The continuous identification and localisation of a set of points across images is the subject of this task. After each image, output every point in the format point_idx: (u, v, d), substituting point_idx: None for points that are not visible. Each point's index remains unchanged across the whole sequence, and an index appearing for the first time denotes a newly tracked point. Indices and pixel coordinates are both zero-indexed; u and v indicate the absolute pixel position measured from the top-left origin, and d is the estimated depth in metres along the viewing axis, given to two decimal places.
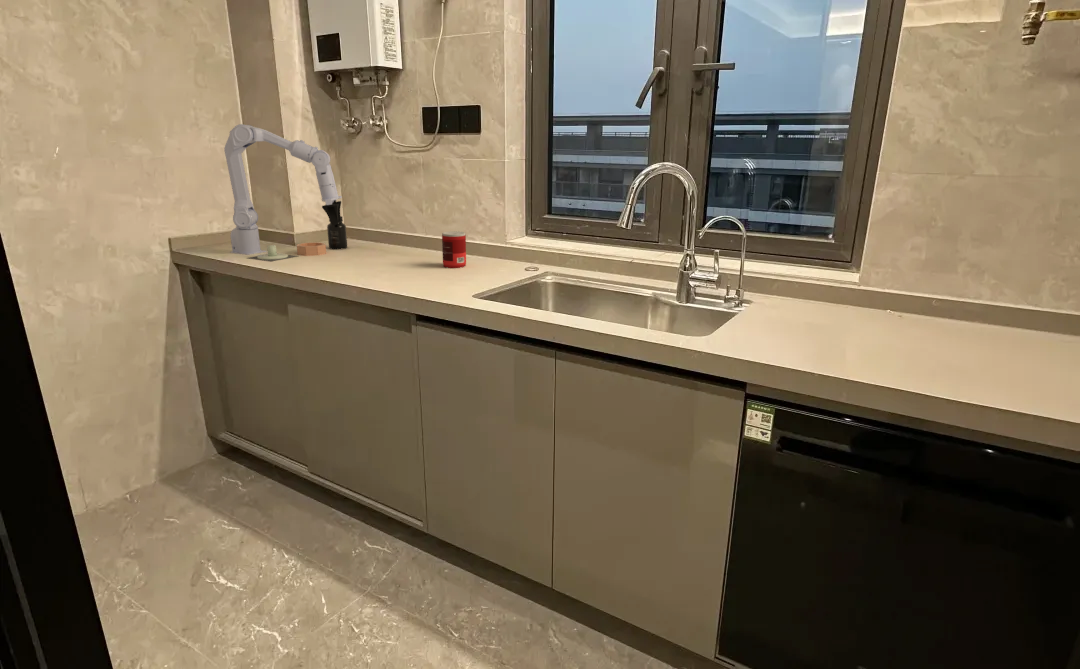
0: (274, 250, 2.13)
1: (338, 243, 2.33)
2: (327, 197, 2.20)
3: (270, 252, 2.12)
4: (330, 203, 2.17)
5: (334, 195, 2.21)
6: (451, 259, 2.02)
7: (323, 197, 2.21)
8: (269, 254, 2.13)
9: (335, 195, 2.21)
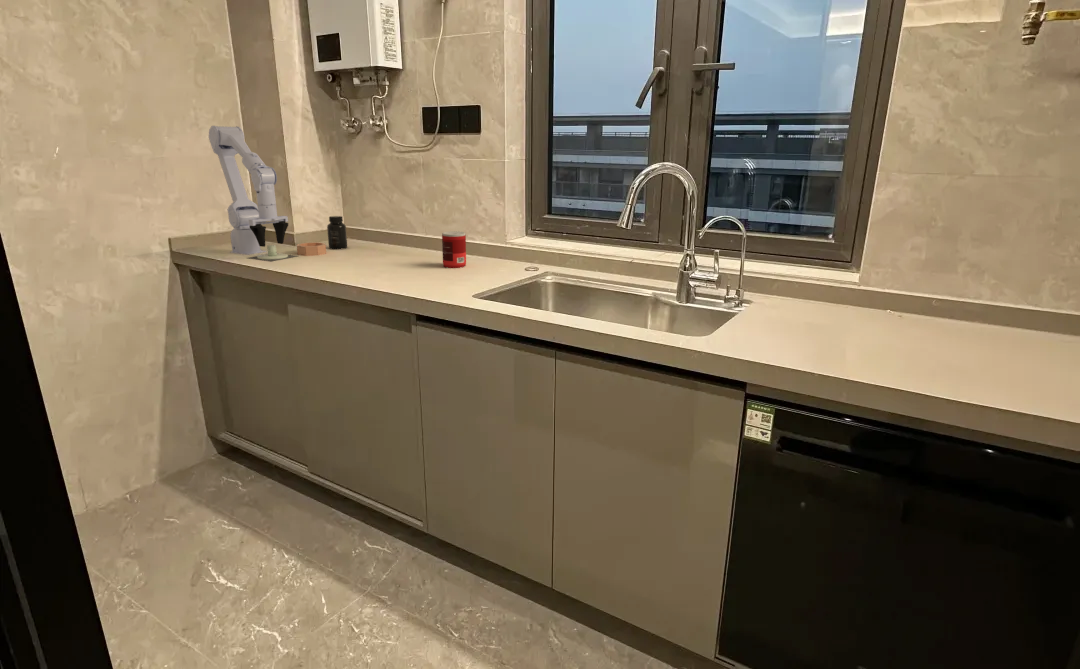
0: (274, 250, 2.13)
1: (338, 243, 2.33)
2: (260, 217, 2.08)
3: (270, 252, 2.12)
4: (252, 224, 2.04)
5: (266, 216, 2.07)
6: (451, 259, 2.02)
7: (259, 216, 2.09)
8: (269, 254, 2.13)
9: (268, 216, 2.08)
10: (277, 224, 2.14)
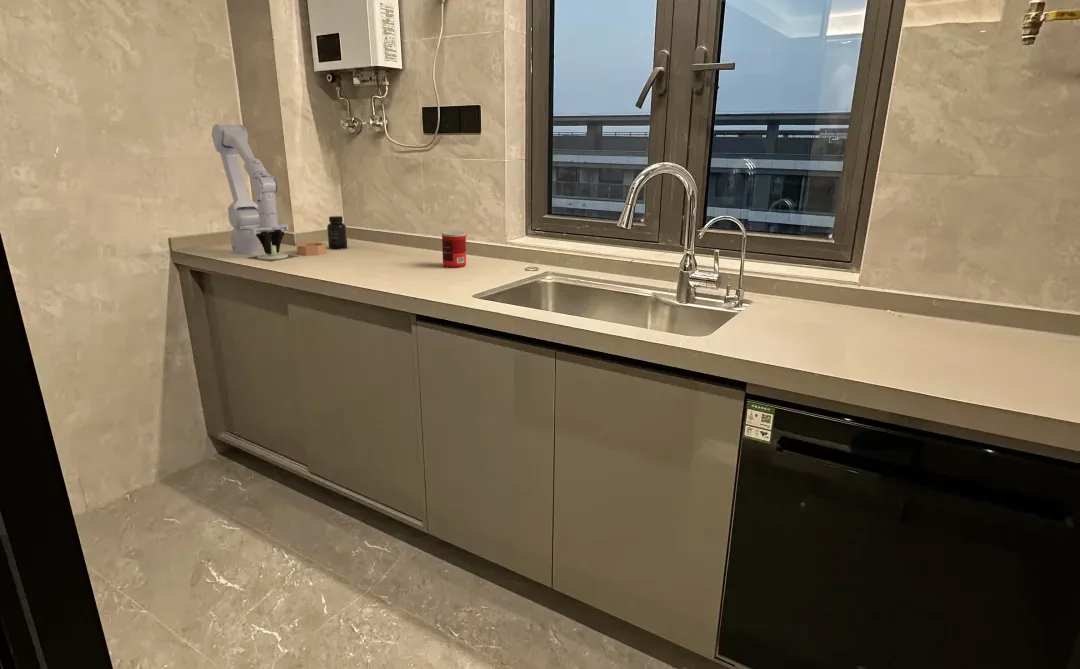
0: (274, 250, 2.13)
1: (338, 243, 2.33)
2: (261, 225, 2.09)
3: None
4: (253, 233, 2.05)
5: (267, 225, 2.08)
6: (451, 259, 2.02)
7: (260, 224, 2.10)
8: (269, 254, 2.13)
9: (269, 225, 2.09)
10: (273, 233, 2.13)
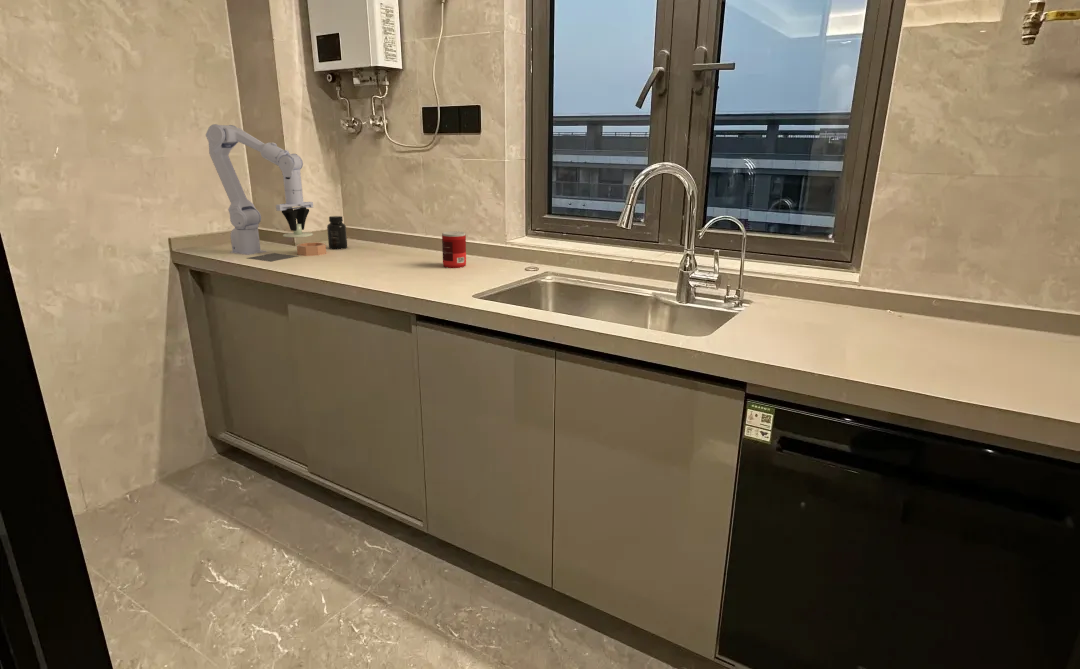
0: (300, 228, 2.17)
1: (338, 243, 2.33)
2: (287, 202, 2.13)
3: (296, 230, 2.16)
4: (279, 209, 2.09)
5: (293, 201, 2.12)
6: (451, 259, 2.02)
7: None
8: (295, 232, 2.17)
9: (294, 202, 2.12)
10: (298, 210, 2.17)
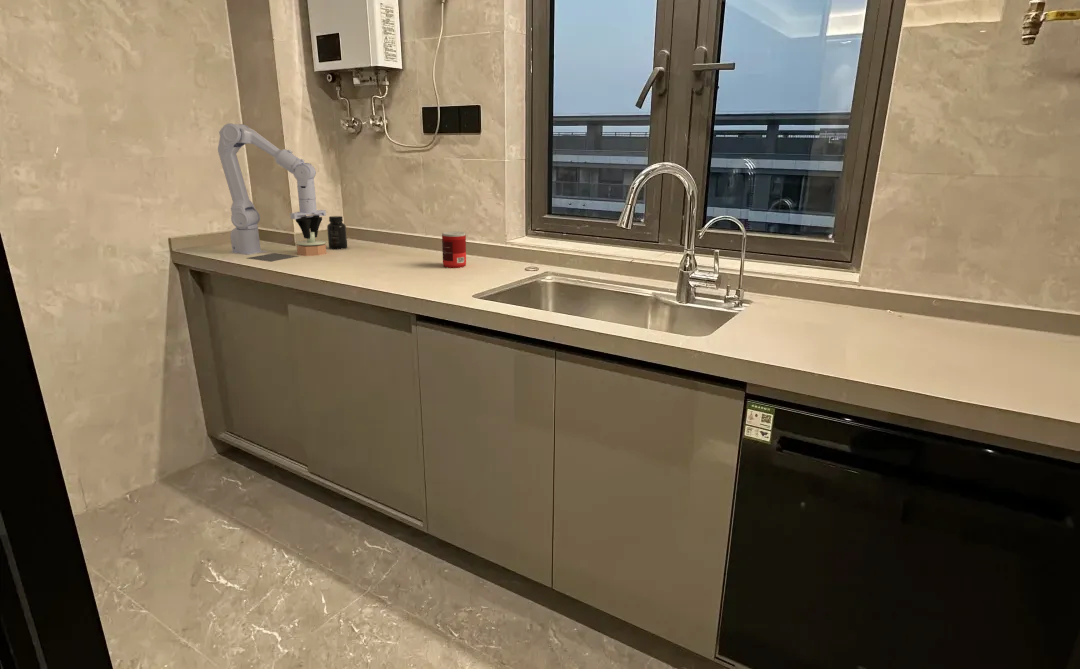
0: (313, 236, 2.21)
1: (338, 243, 2.33)
2: (301, 211, 2.17)
3: (310, 238, 2.20)
4: (293, 218, 2.13)
5: (307, 210, 2.16)
6: (451, 259, 2.02)
7: None
8: (308, 240, 2.21)
9: (308, 210, 2.16)
10: (311, 218, 2.21)
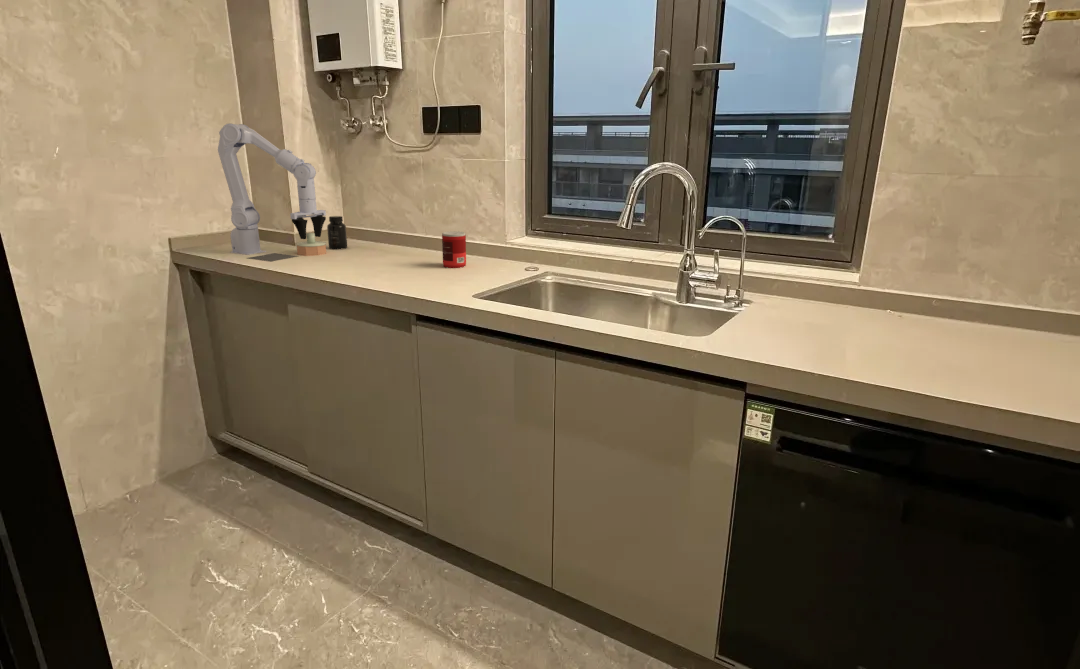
0: (313, 237, 2.21)
1: (338, 243, 2.33)
2: (301, 211, 2.17)
3: (310, 239, 2.21)
4: (293, 218, 2.13)
5: (307, 210, 2.16)
6: (451, 259, 2.02)
7: None
8: (308, 241, 2.21)
9: (308, 210, 2.16)
10: (315, 218, 2.23)
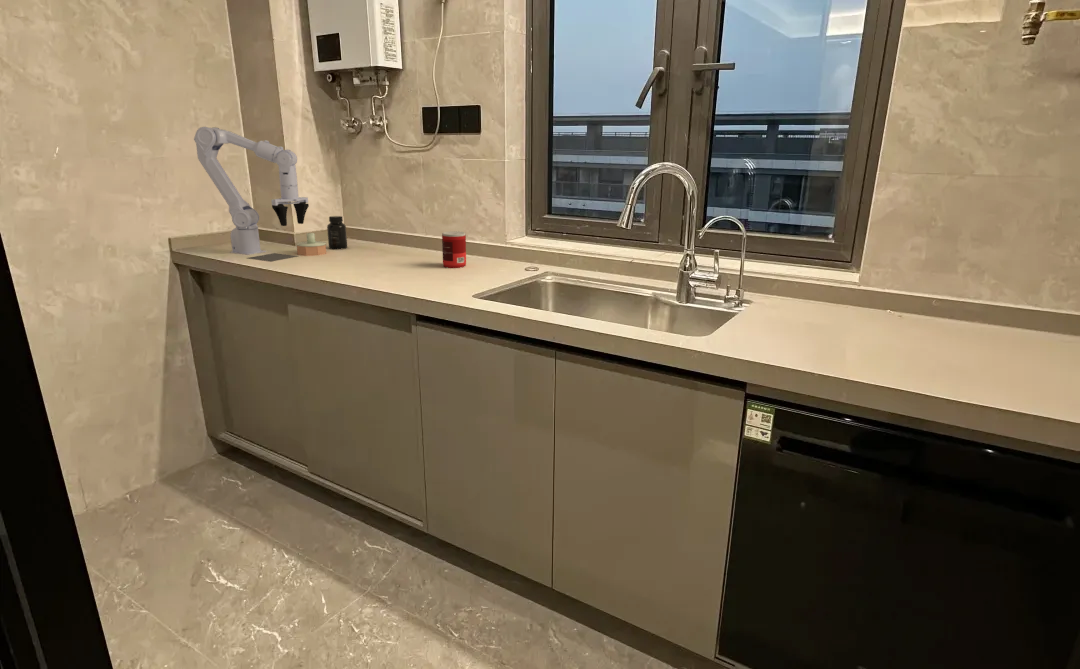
0: (313, 237, 2.21)
1: (338, 243, 2.33)
2: (282, 197, 2.17)
3: (310, 239, 2.21)
4: (274, 204, 2.13)
5: (288, 196, 2.16)
6: (451, 259, 2.02)
7: (281, 196, 2.18)
8: (308, 241, 2.21)
9: (290, 197, 2.16)
10: (298, 205, 2.23)
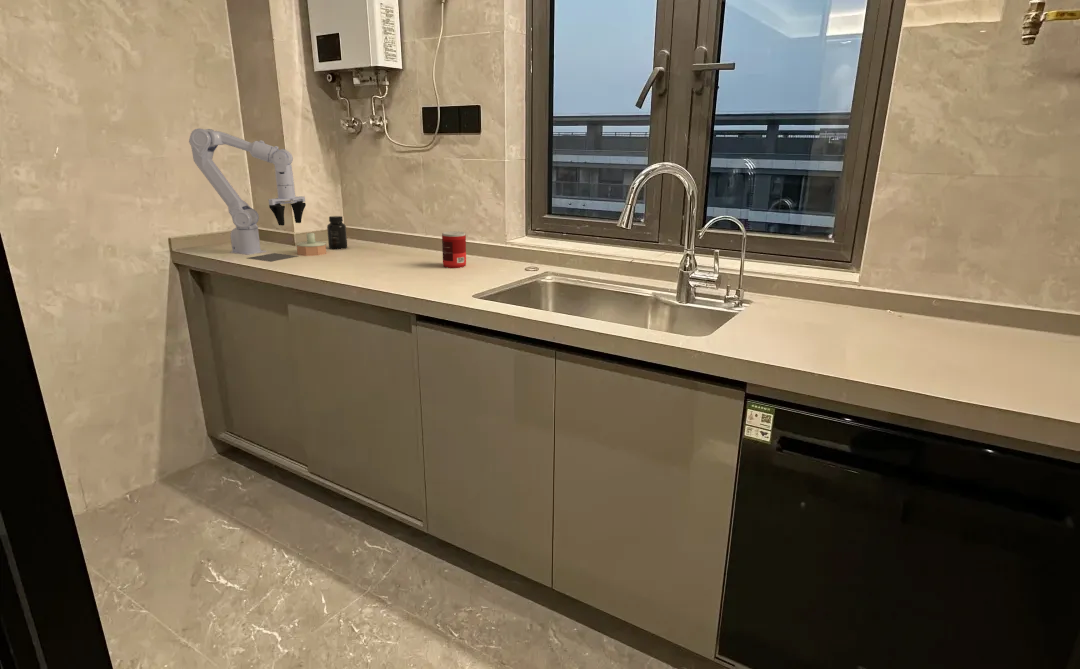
0: (313, 237, 2.21)
1: (338, 243, 2.33)
2: (279, 197, 2.17)
3: (310, 239, 2.21)
4: (271, 204, 2.13)
5: (285, 196, 2.17)
6: (451, 259, 2.02)
7: (278, 196, 2.18)
8: (308, 241, 2.21)
9: (287, 196, 2.17)
10: (295, 204, 2.23)
